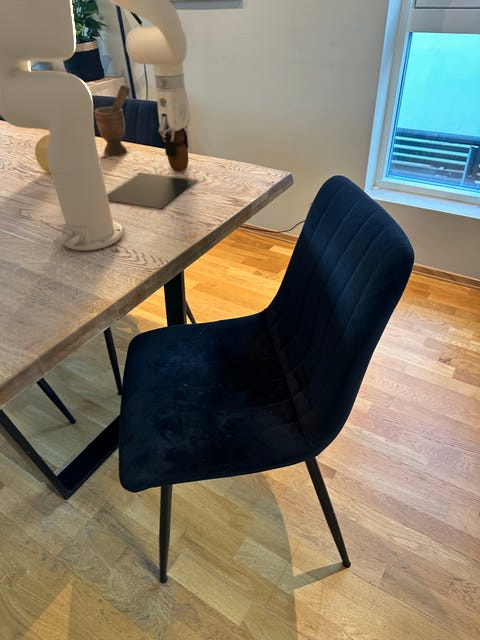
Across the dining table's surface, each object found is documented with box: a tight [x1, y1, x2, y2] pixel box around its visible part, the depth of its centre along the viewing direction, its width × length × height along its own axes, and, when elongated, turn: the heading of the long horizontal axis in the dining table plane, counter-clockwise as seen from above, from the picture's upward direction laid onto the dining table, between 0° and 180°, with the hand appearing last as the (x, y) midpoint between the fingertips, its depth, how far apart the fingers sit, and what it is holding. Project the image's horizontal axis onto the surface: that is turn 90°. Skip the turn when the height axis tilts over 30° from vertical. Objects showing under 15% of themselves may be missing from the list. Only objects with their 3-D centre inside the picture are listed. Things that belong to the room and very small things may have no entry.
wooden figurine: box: [167, 128, 189, 172], centre depth 122 cm, size 7×6×15 cm
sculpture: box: [34, 133, 51, 175], centre depth 124 cm, size 11×12×11 cm
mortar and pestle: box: [93, 84, 130, 157], centre depth 135 cm, size 12×9×20 cm
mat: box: [107, 173, 197, 210], centre depth 114 cm, size 20×18×1 cm
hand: (177, 151), depth 124 cm, fingers closed on wooden figurine, 6 cm apart
